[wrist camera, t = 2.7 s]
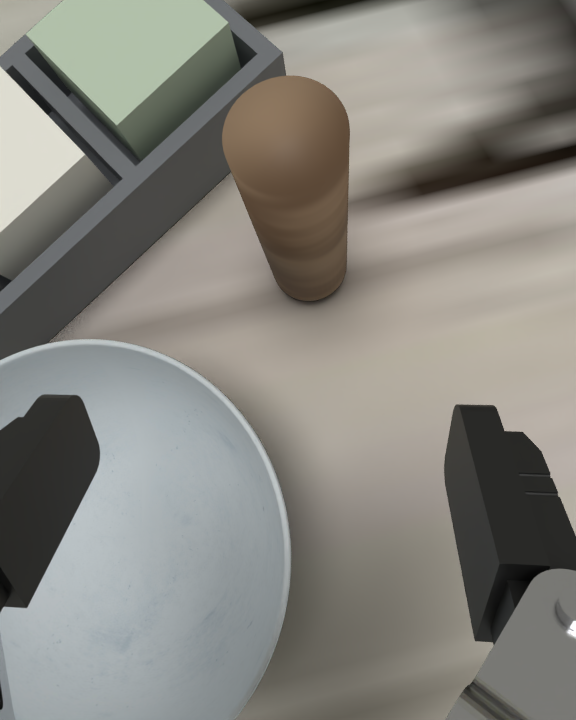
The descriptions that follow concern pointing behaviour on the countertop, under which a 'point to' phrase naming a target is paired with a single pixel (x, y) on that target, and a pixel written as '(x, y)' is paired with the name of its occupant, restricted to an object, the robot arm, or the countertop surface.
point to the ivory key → (38, 180)
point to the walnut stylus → (294, 179)
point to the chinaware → (150, 547)
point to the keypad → (119, 187)
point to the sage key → (138, 62)
